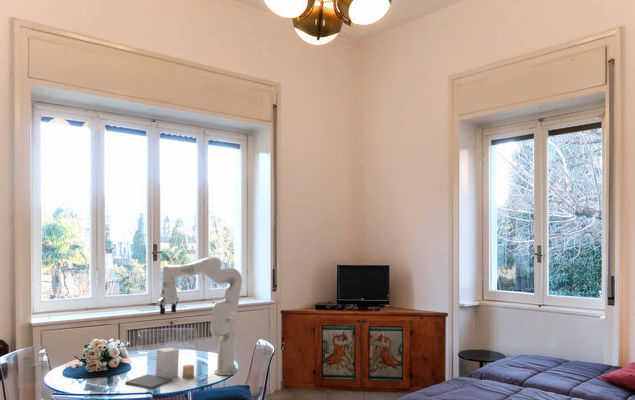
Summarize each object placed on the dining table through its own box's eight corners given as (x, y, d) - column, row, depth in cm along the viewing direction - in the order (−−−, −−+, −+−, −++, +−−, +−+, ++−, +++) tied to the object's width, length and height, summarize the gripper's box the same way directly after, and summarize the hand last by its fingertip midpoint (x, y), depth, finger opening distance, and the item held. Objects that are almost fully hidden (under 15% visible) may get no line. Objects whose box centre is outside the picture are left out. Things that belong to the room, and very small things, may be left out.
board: (172, 381, 282) (172, 379, 282) (151, 389, 268) (151, 386, 268) (147, 376, 290) (147, 374, 290) (125, 384, 276) (125, 381, 276)
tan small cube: (196, 376, 292) (196, 365, 293) (189, 379, 287) (189, 368, 287) (187, 375, 295) (187, 364, 295) (180, 377, 290) (180, 366, 290)
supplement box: (178, 376, 292) (179, 349, 292) (164, 379, 285) (165, 351, 286) (169, 373, 298) (170, 346, 299) (155, 376, 291) (156, 349, 292)
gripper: (163, 286, 312) (162, 315, 311) (183, 284, 327) (182, 311, 326) (154, 285, 315) (153, 314, 314) (173, 283, 330) (173, 310, 329)
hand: (168, 313), depth 320 cm, fingers open, 9 cm apart
